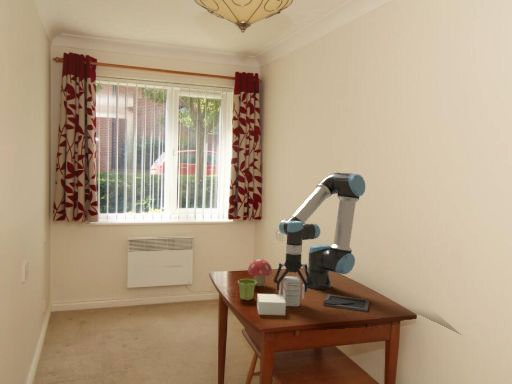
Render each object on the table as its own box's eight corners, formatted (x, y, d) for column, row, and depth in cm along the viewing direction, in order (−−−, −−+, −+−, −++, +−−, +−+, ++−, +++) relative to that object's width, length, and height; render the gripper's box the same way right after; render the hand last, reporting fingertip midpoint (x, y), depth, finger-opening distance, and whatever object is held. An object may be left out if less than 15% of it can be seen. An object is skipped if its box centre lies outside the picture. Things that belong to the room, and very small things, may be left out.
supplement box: (282, 301, 210) (283, 275, 209) (297, 301, 211) (298, 276, 210) (284, 306, 203) (285, 280, 202) (299, 306, 203) (301, 280, 202)
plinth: (281, 306, 202) (282, 294, 202) (285, 315, 190) (285, 302, 190) (256, 306, 202) (257, 293, 201) (258, 315, 190) (259, 302, 189)
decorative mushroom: (247, 282, 240) (248, 256, 239) (271, 283, 239) (272, 257, 238) (246, 289, 227) (247, 261, 226) (271, 290, 226) (272, 263, 225)
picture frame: (323, 306, 206) (367, 313, 200) (323, 302, 206) (367, 308, 200) (327, 297, 222) (369, 302, 215) (327, 293, 222) (369, 299, 215)
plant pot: (241, 302, 205) (242, 284, 204) (233, 296, 213) (234, 279, 213) (258, 300, 209) (259, 283, 209) (250, 294, 218) (251, 278, 217)
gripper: (269, 253, 202) (267, 298, 203) (318, 256, 201) (316, 301, 202) (269, 250, 209) (267, 293, 210) (316, 252, 208) (314, 296, 210)
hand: (291, 297), depth 206 cm, fingers open, 11 cm apart
